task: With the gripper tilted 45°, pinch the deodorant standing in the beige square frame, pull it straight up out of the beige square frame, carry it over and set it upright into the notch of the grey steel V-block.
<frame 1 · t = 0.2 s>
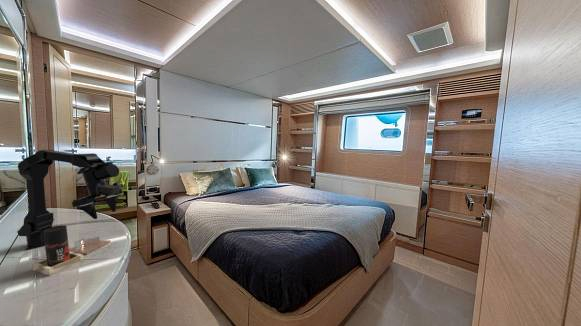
hand: (105, 215, 93), 15 cm above the cabinet, tool pointing down, fingers open, 9 cm apart
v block: (92, 247, 95), on the cabinet
beige square frame: (59, 265, 82), on the cabinet
deodorant: (59, 265, 82), resting in beige square frame
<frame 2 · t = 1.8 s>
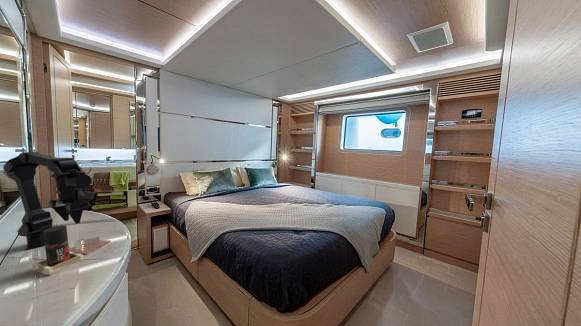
hand: (72, 222, 92), 13 cm above the cabinet, tool pointing down, fingers open, 9 cm apart
nothing on the cabinet moved.
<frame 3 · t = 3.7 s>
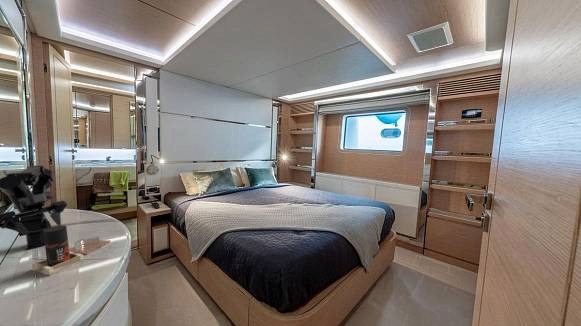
hand: (44, 229, 83), 13 cm above the cabinet, tool tilted 45°, fingers open, 9 cm apart
nothing on the cabinet moved.
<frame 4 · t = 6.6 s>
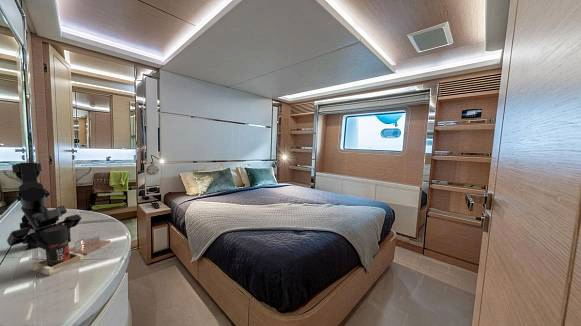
hand: (59, 245, 80), 8 cm above the cabinet, tool tilted 45°, fingers closed on deodorant, 6 cm apart
deodorant: (59, 265, 82), resting in beige square frame, touching gripper
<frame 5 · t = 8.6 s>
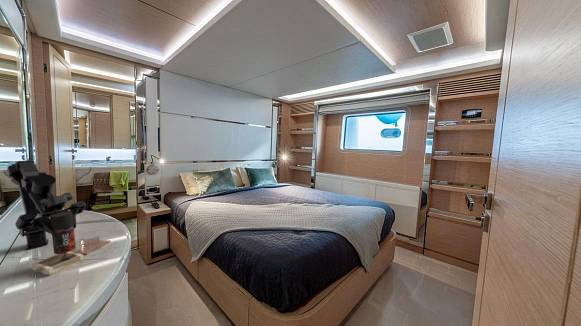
hand: (65, 230, 83), 13 cm above the cabinet, tool tilted 45°, fingers closed on deodorant, 6 cm apart
deodorant: (65, 250, 84), point 5 cm above the cabinet, touching gripper
when the fingers open (10 cm above the cabinet, at t = 11.0 s): deodorant stays where it is, resting on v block.
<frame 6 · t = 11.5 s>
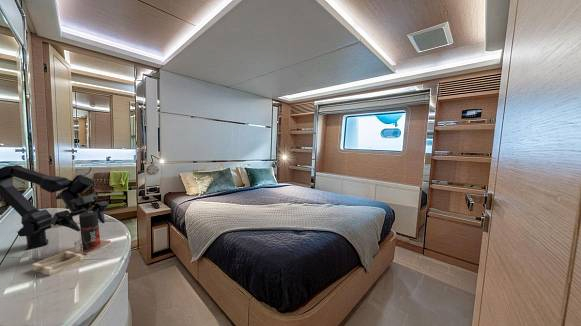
hand: (92, 226, 94), 10 cm above the cabinet, tool tilted 45°, fingers open, 9 cm apart
deodorant: (91, 246, 95), point 1 cm above the cabinet, touching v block
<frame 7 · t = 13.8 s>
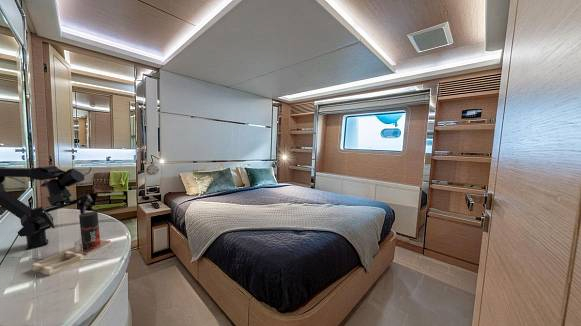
hand: (68, 223, 92), 12 cm above the cabinet, tool tilted 30°, fingers open, 9 cm apart
nothing on the cabinet moved.
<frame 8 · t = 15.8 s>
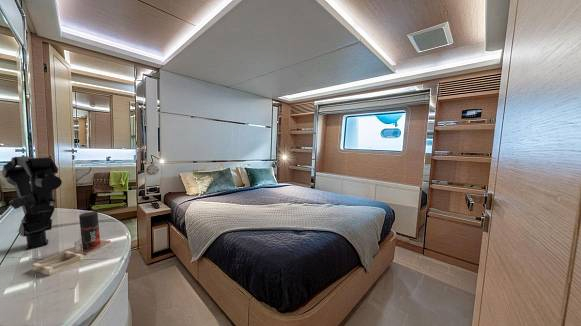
hand: (46, 222, 90), 13 cm above the cabinet, tool pointing down, fingers open, 9 cm apart
nothing on the cabinet moved.
at the end: deodorant 0.1 cm off-centre on the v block, point 0.6 cm above the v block's base; deodorant tilted 0°; the gripper is holding nothing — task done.
